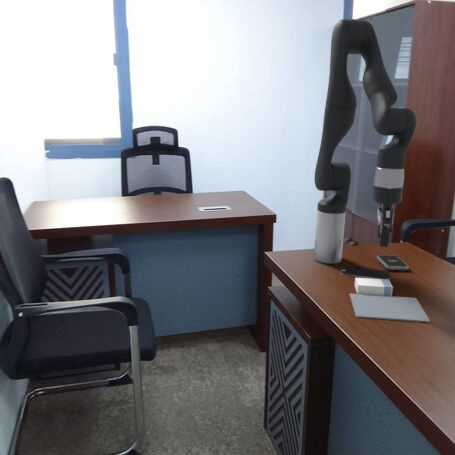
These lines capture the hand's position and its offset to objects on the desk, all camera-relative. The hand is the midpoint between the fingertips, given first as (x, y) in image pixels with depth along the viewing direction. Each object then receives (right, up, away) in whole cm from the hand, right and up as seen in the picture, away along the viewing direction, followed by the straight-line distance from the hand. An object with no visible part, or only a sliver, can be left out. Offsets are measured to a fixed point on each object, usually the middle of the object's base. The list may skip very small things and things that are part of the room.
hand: (382, 242), depth 130 cm
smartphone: (+1, -11, +19) cm, 22 cm away
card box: (-1, -14, +5) cm, 15 cm away
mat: (-1, -17, -6) cm, 18 cm away
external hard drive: (+12, -9, +26) cm, 30 cm away
